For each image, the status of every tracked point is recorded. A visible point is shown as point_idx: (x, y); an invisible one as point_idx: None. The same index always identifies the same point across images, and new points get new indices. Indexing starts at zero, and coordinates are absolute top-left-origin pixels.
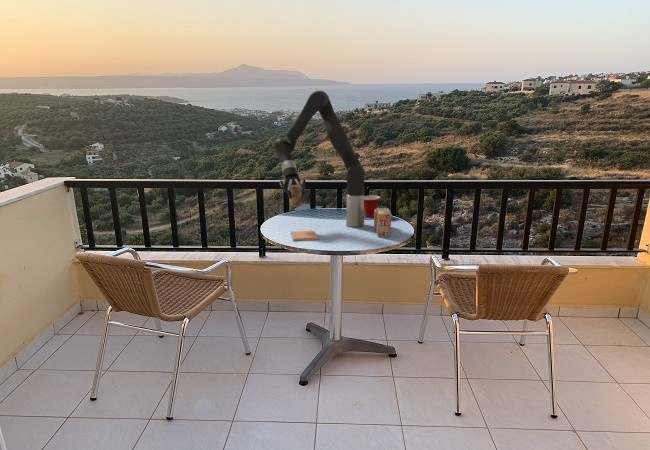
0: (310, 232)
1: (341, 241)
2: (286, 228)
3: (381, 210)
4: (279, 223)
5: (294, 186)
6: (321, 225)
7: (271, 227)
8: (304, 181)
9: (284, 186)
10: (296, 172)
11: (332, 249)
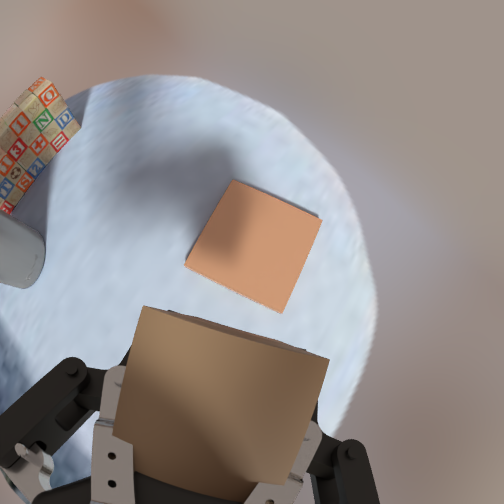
0: (215, 249)
1: (180, 135)
2: None
3: (16, 111)
4: None
5: (276, 347)
6: (98, 340)
7: None
8: (4, 432)
9: (354, 486)
10: None
11: (253, 102)
